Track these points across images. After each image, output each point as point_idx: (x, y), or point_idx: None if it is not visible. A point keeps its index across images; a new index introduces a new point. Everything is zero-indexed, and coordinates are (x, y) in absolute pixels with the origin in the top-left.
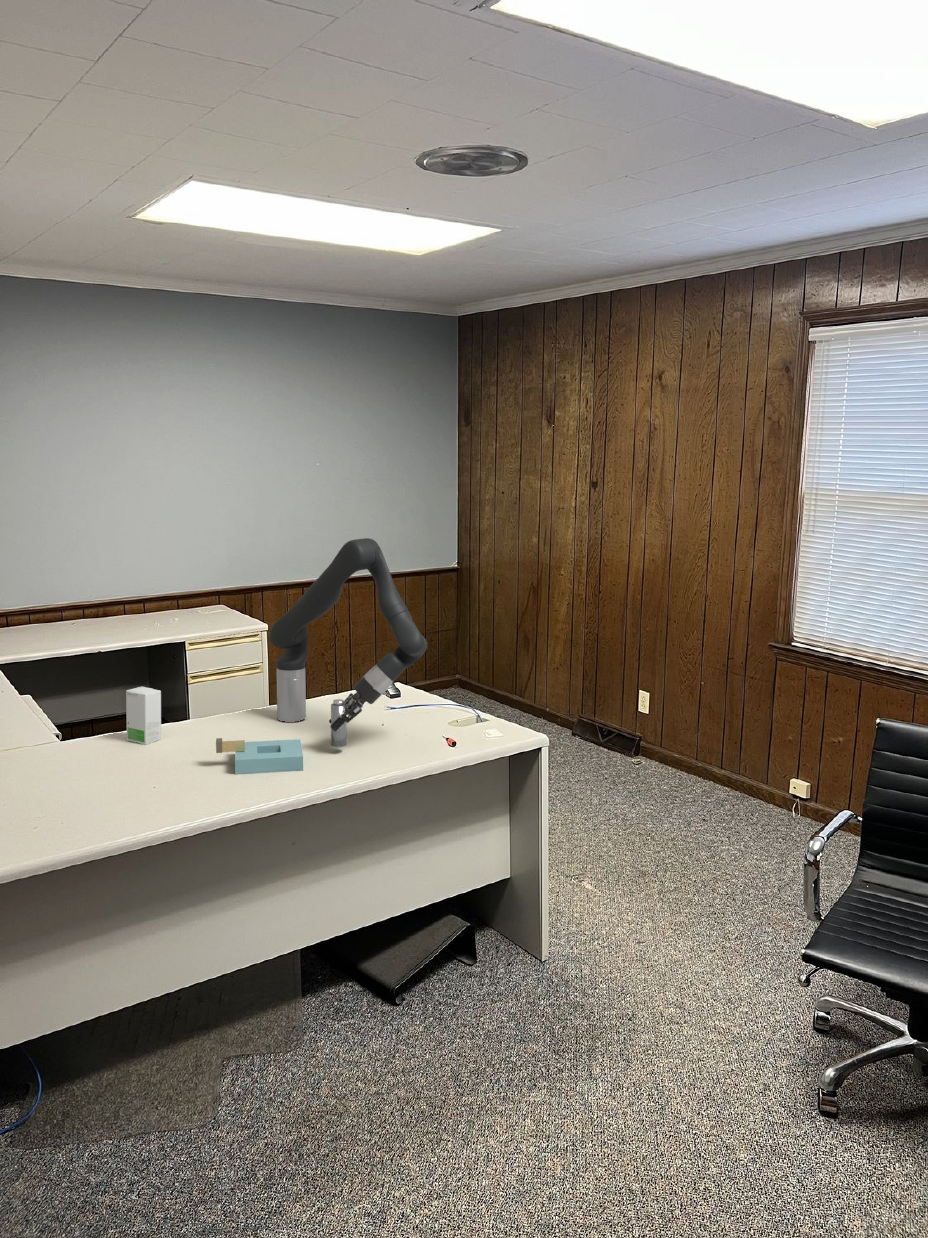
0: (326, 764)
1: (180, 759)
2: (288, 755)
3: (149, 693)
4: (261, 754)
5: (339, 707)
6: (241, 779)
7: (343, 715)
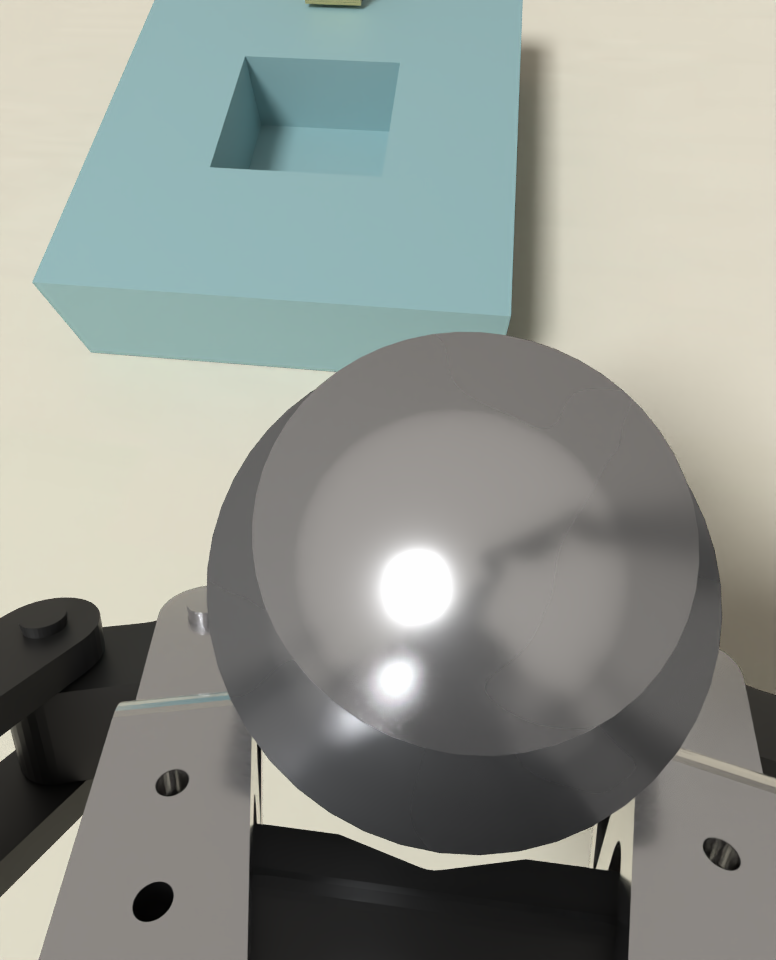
0: (147, 518)
1: None
2: (107, 200)
3: None
4: (211, 73)
5: (224, 550)
6: (110, 80)
7: (16, 637)
